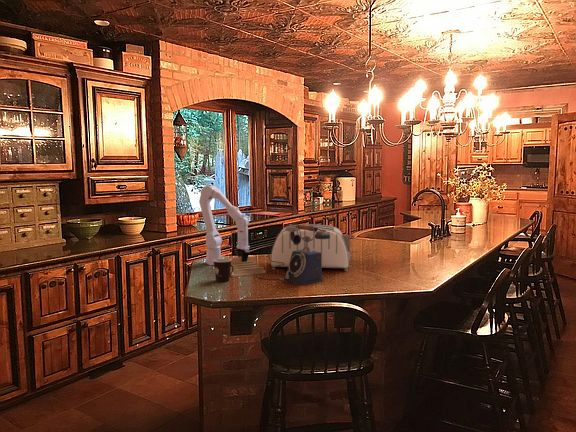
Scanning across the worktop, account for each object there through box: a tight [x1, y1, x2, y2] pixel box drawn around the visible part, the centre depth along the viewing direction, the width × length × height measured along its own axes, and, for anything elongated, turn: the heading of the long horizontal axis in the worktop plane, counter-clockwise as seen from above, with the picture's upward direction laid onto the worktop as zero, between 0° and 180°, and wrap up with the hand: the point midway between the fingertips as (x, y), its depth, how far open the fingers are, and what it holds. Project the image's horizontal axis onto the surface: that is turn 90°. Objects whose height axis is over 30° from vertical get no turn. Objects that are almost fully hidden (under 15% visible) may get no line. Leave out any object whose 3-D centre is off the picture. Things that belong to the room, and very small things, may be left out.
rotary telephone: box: [255, 224, 330, 286], centre depth 232 cm, size 41×22×27 cm, turn 38°
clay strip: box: [229, 255, 257, 264], centre depth 264 cm, size 2×14×5 cm, turn 116°
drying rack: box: [230, 261, 267, 278], centre depth 250 cm, size 17×18×3 cm
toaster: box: [270, 224, 356, 272], centre depth 261 cm, size 21×45×22 cm, turn 85°
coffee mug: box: [213, 257, 234, 283], centre depth 229 cm, size 12×9×10 cm
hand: (243, 262), depth 264 cm, fingers open, 4 cm apart
